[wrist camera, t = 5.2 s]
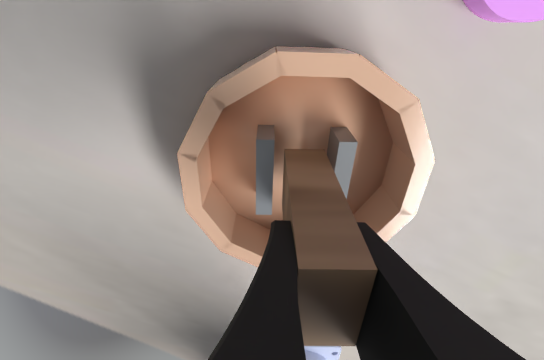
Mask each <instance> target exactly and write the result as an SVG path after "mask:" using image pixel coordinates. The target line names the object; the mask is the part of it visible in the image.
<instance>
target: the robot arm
mask: <svg viewBox="0 0 544 360" xmlns="http://www.w3.org/2000/svg"><path fill="white" fill-rule="evenodd" d="M357 224H358V227H359V229H360V231H361V233H362V236H363V238H364V240H365V242H366V245H367V247H368V249H369V252H370V254H371V256H372V258H373V261H374V263H375V265H376V267H377V273H376V277H375V280H374V284H373V287H372V291H371V294H370V298H369V301H368V305H367V308H366V311H365V315H364V318H363V322H362V325H361V329H360V332H359V336H358V339H357V343H356V346H357V350H358V353H359V356H360V360H526V359H524V358H523V357H521V356H520V355H518V354H517V353H516V352H514V351H513V350H512V349H510V348H509V347H507V346H506V345H505V344H503V343H502V342H501V341H499V340H498V339H497V338H495V337H494V336H493V335H491V334H490V333H489V332H487V331H486V330H485V329H484V328H482V327H481V326H480V325H478V324H477V323H476V322H474V321H473V320H472V319H470V318H469V317H468V316H467V315H465V314H464V313H463V312H462V311H461V310H459V309H458V308H457V307H456V306H454V305H453V304H452V303H451V302H450V301H449V300H447V299H446V298H445V297H444V296H443V295H442V294H440V293H439V292H438V291H437V290H436V289H435V288H433V287H432V286H431V285H430V284H429V283H428V282H427V281H426V280H424V279H423V278H422V277H421V276H420V275H419V274H418V273H417V272H416V271H415V270H413V269H412V268H411V267H410V266H409V265H408V264H407V263H406V262H405V261H404V260H403V259H402V258H401V257H400V256H399V255H398V254H397V253H396V252H395V251H394V250H393V249H392V248H391V247H390V246H389V245H388V244H387V243H386V242H385V241H384V240H383V239H382V238H381V237H380V236H379V235H378V234H377V233H376V232H375V231H374V230H373V229H372V228H371V227H370V226H368V225H367V224H366V223H365V222H357ZM340 353H341V346H304V342H303V335H302V328H301V320H300V313H299V306H298V289H297V257H296V250H295V244H294V237H293V231H292V226H291V221H284V220H274V221H273V222H272V223H271V229H270V234H269V238H268V242H267V245H266V248H265V251H264V254H263V257H262V259H261V262H260V264H259V267H258V269H257V272H256V274H255V276H254V278H253V280H252V282H251V285H250V287H249V289H248V291H247V293H246V295H245V297H244V299H243V301H242V303H241V305H240V307H239V309H238V310H237V312H236V314H235V316H234V318H233V319H232V321H231V323H230V325H229V326H228V328H227V330H226V331H225V333H224V335H223V336H222V338H221V340H220V341H219V343H218V344H217V346H216V348H215V349H214V351H213V352H212V354H211V356H210V357H209V359H208V360H339V357H340Z"/></svg>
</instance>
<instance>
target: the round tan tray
mask: <svg viewBox="0 0 544 360" xmlns="http://www.w3.org/2000/svg"><path fill="white" fill-rule="evenodd" d="M284 149H324V150H325V152H326V154H327V156H328V159H329V161H330V163H331V165H332V168H333V170H334V172H335V175H336V177H337V179H338V181H339V184H340V186H341V188H342V190H343V193H344V195H345V197H346V199H347V202H348V204H349V206H350V209H351V211H352V213H353V215H354V218H355V220H356V222H365V223H366V224H367V225H368V226H370V227H371V228H372V229H373V230H374V231H375V232H376V233H377V234H378V235H379V236H380V237H381V238H382V239H383V240H384V241H385V242H387V241H388V240H389V239H391V238H392V237H393V236H394V235H395V234H396V233H397V232H398V231H399V230H400V229H401V228H403V227H404V226H405V225H406V224H407V223H408V222H409V221H410V220H411V219H412V218H413V217H414V216H415V215H416V213H417V210H418V207H419V204H420V201H421V199H422V196H423V193H424V190H425V188H426V185H427V182H428V179H429V177H430V174H431V171H432V168H433V165H434V163H435V157H434V153H433V150H432V146H431V142H430V138H429V135H428V131H427V127H426V123H425V119H424V116H423V112H422V108H421V104H420V101H419V98H417V97H416V96H415V95H413V94H412V93H411V92H409V91H408V90H407V89H405V88H404V87H403V86H401V85H400V84H399V83H397V82H396V81H395V80H393V79H392V78H391V77H389V76H388V75H387V74H385V73H384V72H383V71H381V70H380V69H379V68H377V67H376V66H375V65H374V64H372V63H371V62H370V61H368V60H367V59H366V58H364V57H363V56H362V55H360V54H357V53H354V52H351V51H349V50H346V49H341V48H317V47H283V46H276V48H275V47H273V48H271V49H270V50H268V51H266V52H265V53H263V54H261V55H260V56H258V57H256V58H254V59H252V60H250V61H248V62H246V63H245V64H244V65H242V66H241V67H239V68H238V69H236V70H234V71H233V72H231V73H229V74H228V75H226V76H224V77H223V78H221V79H219V80H218V81H217V82H216V83H215V84H214V85H213V86H212V87H211V89H210V90H209V91H208V92H207V93H206V95H205V97H204V99H203V101H202V103H201V105H200V107H199V109H198V111H197V113H196V115H195V117H194V119H193V122H192V124H191V126H190V128H189V130H188V132H187V134H186V136H185V138H184V140H183V142H182V144H181V146H180V148H179V150H178V152H177V157H178V164H179V170H180V177H181V184H182V190H183V197H184V203H185V210H186V211H187V213H188V214H189V215H190V216H191V217H192V219H193V220H194V221H195V222H196V223H197V224H198V226H199V227H200V228H201V229H202V230H203V231H204V233H205V234H206V235H207V236H208V237H209V238H210V240H211V241H212V242H213V243H214V244H215V245H216V247H217V248H218V249H219V250H221V252H224V253H226V254H228V255H231V256H233V257H235V258H238V259H240V260H242V261H245V262H247V263H249V264H252V265H254V266H256V267H259V264H260V262H261V259H262V257H263V254H264V251H265V248H266V245H267V242H268V238H269V234H270V229H271V223H272V222H273V221H274V220H283V212H282V192H283V169H284Z"/></svg>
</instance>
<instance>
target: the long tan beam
mask: <svg viewBox="0 0 544 360" xmlns="http://www.w3.org/2000/svg"><path fill="white" fill-rule="evenodd" d="M282 212H283V220H284V221H291V226H292V231H293V237H294V244H295V250H296V257H297V289H298V306H299V313H300V320H301V328H302V335H303V342H304V346H356V343H357V339H358V336H359V332H360V329H361V325H362V322H363V318H364V315H365V311H366V308H367V305H368V301H369V298H370V294H371V291H372V287H373V284H374V280H375V277H376V273H377V267H376V265H375V263H374V261H373V258H372V256H371V254H370V252H369V249H368V247H367V245H366V242H365V240H364V238H363V236H362V233H361V231H360V229H359V227H358V224H357V222H356V220H355V218H354V215H353V213H352V211H351V209H350V206H349V204H348V202H347V199H346V197H345V195H344V193H343V190H342V188H341V186H340V184H339V181H338V179H337V177H336V175H335V172H334V170H333V168H332V165H331V163H330V161H329V159H328V156H327V154H326V152H325V150H324V149H284V169H283V192H282Z"/></svg>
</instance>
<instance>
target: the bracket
mask: <svg viewBox="0 0 544 360" xmlns="http://www.w3.org/2000/svg"><path fill="white" fill-rule="evenodd" d="M463 2H464V3H465V5H466V6H467V7H468V8H469V10H471V11H472V12H473V13H474V14H475V15H477V16H478V17H480V18H482V19H485V20H488V21H492V22H533V21H539V20H543V19H544V0H463Z"/></svg>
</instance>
